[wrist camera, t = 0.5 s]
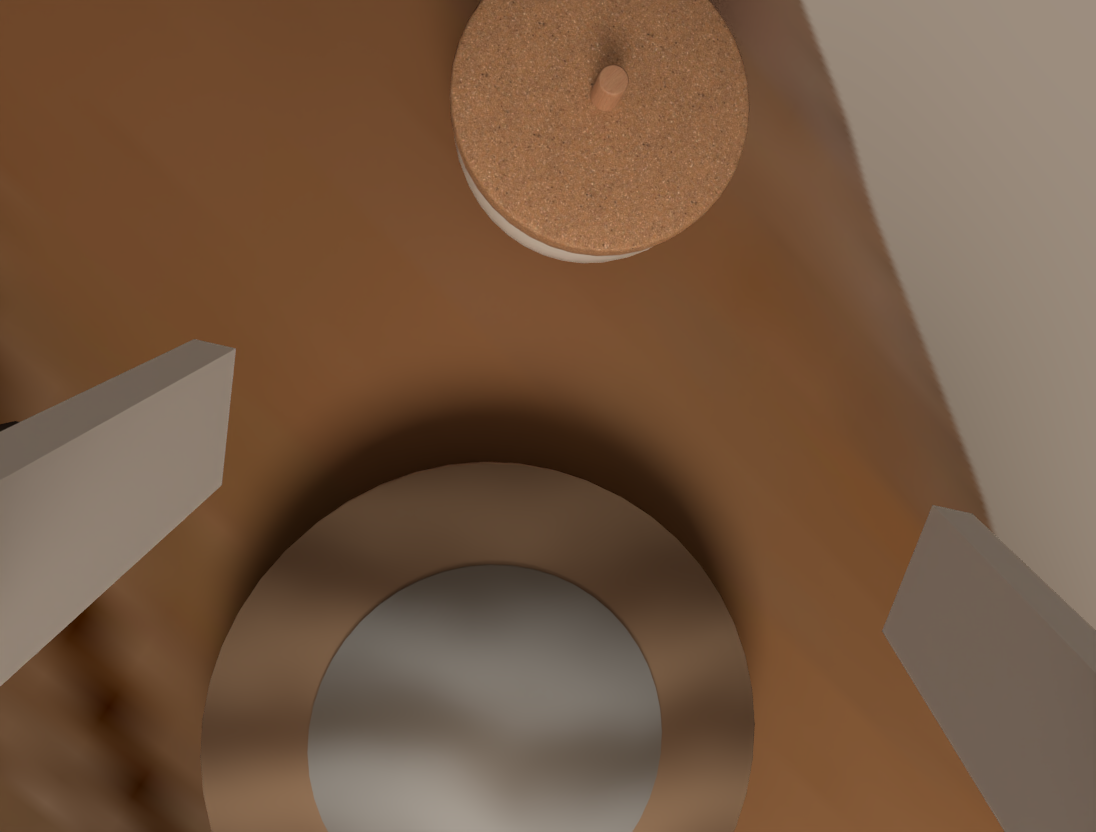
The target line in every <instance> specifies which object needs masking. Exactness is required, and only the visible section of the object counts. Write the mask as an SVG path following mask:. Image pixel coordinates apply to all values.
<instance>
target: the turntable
mask: <svg viewBox="0 0 1096 832" xmlns="http://www.w3.org/2000/svg"><path fill="white" fill-rule="evenodd" d="M754 725H755V723H754V709H753V695H752V687H751V682H750V677H749V672H748V667H747V662H746V657H745V654H744V651H743V648H742V645H741V642H740V639H739V636H738V633H737V630H736V627H735V624H734V622H733V620H732V618H731V616H730V614H729V612H728V610H727V608H726V606H725V604H724V602H723V600H722V598H721V596H720V594H719V592H718V591H717V589H716V588H715V586H714V585H713V583H712V582H711V580H710V579H709V577H708V576H707V574H706V573H705V571H704V570H703V568H702V567H701V565H700V564H699V563H698V562H697V561H696V559H695V558H694V557H693V556H692V555H691V554H690V553H689V552H688V550H687V549H686V548H685V547H684V546H683V545H682V544H681V543H680V541H679V540H678V539H677V538H676V537H674V536H673V535H672V534H671V533H670V532H669V531H668V530H666V529H665V528H664V527H663V526H662V525H661V524H659V523H658V522H657V521H656V520H655V519H654V518H652V517H651V516H650V515H648V514H647V513H645V512H644V511H642V510H641V509H639V508H637V507H636V506H634V505H633V504H631V503H630V502H628V501H627V500H625V499H624V498H622V497H620V496H618V495H616V494H614V493H612V492H610V491H607V490H605V489H603V488H601V487H599V486H597V485H595V484H593V483H591V482H589V481H587V480H584V479H581V478H578V477H575V476H572V475H569V474H566V473H563V472H560V471H556V470H553V469H548V468H543V467H537V466H532V465H526V464H521V463H505V462H472V463H460V464H449V465H445V466H440V467H435V468H431V469H426V470H421V471H417V472H413V473H410V474H408V475H405V476H402V477H399V478H396V479H394V480H391V481H388V482H385V483H382V484H380V485H378V486H376V487H374V488H372V489H370V490H368V491H366V492H364V493H362V494H360V495H358V496H356V497H354V498H352V499H350V500H349V501H347V502H346V503H344V504H343V505H341V506H340V507H338V508H337V509H336V510H334V511H333V512H331V513H330V514H328V515H327V516H325V517H324V518H322V519H321V520H319V521H318V522H317V523H316V524H315V525H314V526H313V527H312V528H310V529H309V530H308V531H307V532H306V533H305V534H304V535H303V536H301V537H300V538H299V539H298V540H297V541H296V542H295V543H293V544H292V545H291V546H290V547H289V548H288V549H287V550H286V551H285V552H284V553H283V554H282V555H281V556H280V557H279V559H278V560H277V561H276V562H275V563H274V564H273V565H272V567H271V568H270V569H269V570H268V571H267V572H266V573H265V575H264V576H263V577H262V578H261V579H260V581H259V582H258V584H257V585H256V587H255V588H254V590H253V591H252V593H251V594H250V596H249V597H248V599H247V600H246V602H245V603H244V605H243V606H242V608H241V609H240V611H239V612H238V614H237V616H236V618H235V620H234V622H233V625H232V627H231V629H230V631H229V633H228V635H227V637H226V639H225V641H224V643H223V645H222V647H221V650H220V653H219V656H218V659H217V662H216V665H215V668H214V671H213V674H212V677H211V680H210V683H209V689H208V694H207V699H206V704H205V709H204V714H203V720H202V737H201V755H200V758H201V771H202V783H203V795H204V799H205V804H206V808H207V813H208V817H209V822H210V826H211V831H212V832H734V830H735V828H736V825H737V822H738V818H739V815H740V812H741V809H742V806H743V802H744V799H745V796H746V793H747V787H748V782H749V776H750V771H751V765H752V760H753V743H754Z"/></svg>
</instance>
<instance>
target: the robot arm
mask: <svg viewBox="0 0 1096 832" xmlns="http://www.w3.org/2000/svg"><path fill="white" fill-rule="evenodd" d="M235 351H236V349H235V348H231V347H227V346H222V345H218V344H213V343H209V342H204V341H200V340H195V339H194V340H192V341H190V342H188V343H185V344H183V345H181V346H179V347H177V348H175V349H173V350H171V351H169V352H167V353H164V354H162V355H160V356H158V357H156V358H154V359H152V360H150V361H148V362H146V363H143V364H141V365H139V366H137V367H135V368H133V369H131V370H129V371H127V372H125V373H122V374H120V375H118V376H116V377H114V378H112V379H110V380H108V381H106V382H104V383H101V384H99V385H97V386H95V387H93V388H91V389H89V390H87V391H85V392H83V393H80V394H78V395H76V396H74V397H72V398H70V399H68V400H66V401H64V402H62V403H59V404H57V405H55V406H53V407H51V408H49V409H47V410H45V411H43V412H41V413H38V414H36V415H34V416H32V417H30V418H28V419H26V420H24V421H22V422H17V421H14V422H9V423H4V424H0V686H1V685H2V684H3V683H4V682H6V681H7V680H8V679H9V678H10V677H11V676H12V675H13V674H14V673H15V672H17V671H18V670H19V669H20V668H21V667H22V666H23V665H24V664H25V663H26V662H28V661H29V660H30V659H31V658H32V657H33V656H34V655H35V654H36V653H38V652H39V651H40V650H41V649H42V648H43V647H44V646H45V645H46V644H47V643H49V642H50V641H51V640H52V639H53V638H54V637H55V636H56V635H57V634H58V633H60V632H61V631H62V630H63V629H64V628H65V627H66V626H67V625H68V624H69V623H71V622H72V621H73V620H74V619H75V618H76V617H77V616H78V615H79V614H80V613H82V612H83V611H84V610H85V609H86V608H87V607H88V606H89V605H90V604H91V603H93V602H94V601H95V600H96V599H97V598H98V597H99V596H100V595H101V594H102V593H104V592H105V591H106V590H107V589H108V588H109V587H110V586H111V585H112V584H113V583H115V582H116V581H117V580H118V579H119V578H120V577H121V576H122V575H123V574H124V573H126V572H127V571H128V570H129V569H130V568H131V567H132V566H133V565H134V564H135V563H137V562H138V561H139V560H140V559H141V558H142V557H143V556H144V555H145V554H146V553H148V552H149V551H150V550H151V549H152V548H153V547H154V546H155V545H156V544H157V543H159V542H160V541H161V540H162V539H163V538H164V537H165V536H166V535H167V534H168V533H170V532H171V531H172V530H173V529H174V528H175V527H176V526H177V525H178V524H179V523H181V522H182V521H183V520H184V519H185V518H186V517H187V516H188V515H189V514H190V513H192V512H193V511H194V510H195V509H196V508H197V507H198V506H199V505H200V504H201V503H203V502H204V501H205V500H206V499H207V498H208V497H209V496H210V495H211V494H212V493H214V492H215V491H216V490H217V489H218V488H219V487H220V486H221V485H222V476H223V467H224V457H225V447H226V438H227V428H228V419H229V409H230V399H231V390H232V380H233V371H234V361H235ZM882 632H883V633H884V635H885V637H886V638H887V640H888V641H889V643H890V645H891V646H892V648H893V650H894V651H895V653H896V655H897V656H898V658H899V659H900V661H901V663H902V664H903V666H904V668H905V669H906V671H907V673H908V674H909V676H910V677H911V679H912V681H913V682H914V684H915V686H916V687H917V689H918V691H919V692H920V694H921V695H922V697H923V699H924V700H925V702H926V704H927V705H928V707H929V709H930V710H931V712H932V713H933V715H934V717H935V718H936V720H937V722H938V723H939V725H940V727H941V728H942V730H943V731H944V733H945V735H946V736H947V738H948V740H949V741H950V743H951V745H952V746H953V748H954V749H955V751H956V753H957V754H958V756H959V758H960V759H961V761H962V763H963V764H964V766H965V767H966V769H967V771H968V772H969V774H970V776H971V777H972V779H973V781H974V782H975V784H976V786H977V787H978V789H979V790H980V792H981V794H982V795H983V797H984V799H985V800H986V802H987V804H988V805H989V807H990V808H991V810H992V812H993V813H994V815H995V817H996V818H997V820H998V822H999V823H1000V825H1001V826H1002V828H1003V830H1004V831H1005V832H1096V630H1095V629H1093V628H1092V627H1091V626H1090V625H1089V624H1088V623H1087V622H1086V621H1085V620H1084V619H1083V618H1082V617H1081V616H1080V615H1079V614H1078V613H1077V612H1076V611H1075V610H1073V609H1072V608H1071V607H1070V606H1069V605H1068V604H1067V603H1066V602H1065V601H1064V600H1063V599H1062V598H1061V597H1060V596H1059V595H1058V594H1056V592H1054V591H1053V590H1052V589H1051V588H1050V587H1049V586H1048V585H1047V584H1046V583H1045V582H1044V581H1043V580H1042V579H1041V578H1040V577H1039V576H1037V575H1036V574H1035V573H1034V572H1033V571H1032V570H1031V569H1030V568H1029V567H1028V566H1027V565H1026V564H1025V563H1024V562H1023V561H1022V560H1020V558H1018V557H1017V556H1016V555H1015V554H1014V553H1013V552H1012V551H1011V550H1010V549H1009V548H1008V547H1007V546H1006V545H1005V544H1004V543H1003V542H1002V541H1000V540H999V539H998V538H997V537H996V536H995V535H994V534H993V533H992V532H991V531H990V530H989V529H988V528H987V527H986V526H985V525H984V524H983V523H982V522H980V521H979V520H978V519H977V518H976V517H975V516H974V515H973V514H970V513H966V512H961V511H957V510H952V509H948V508H944V507H939V506H935V505H932V508H931V510H930V513H929V515H928V518H927V520H926V523H925V525H924V528H923V530H922V533H921V535H920V538H919V540H918V543H917V545H916V548H915V550H914V553H913V555H912V558H911V560H910V563H909V565H908V568H907V570H906V573H905V575H904V578H903V580H902V583H901V585H900V588H899V590H898V593H897V595H896V598H895V600H894V603H893V605H892V608H891V610H890V613H889V615H888V618H887V620H886V623H885V625H884V628H883V630H882Z"/></svg>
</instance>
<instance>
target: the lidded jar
mask: <svg viewBox="0 0 1096 832" xmlns="http://www.w3.org/2000/svg"><path fill="white" fill-rule="evenodd" d="M450 109H451V122H452V126H453V131H454V138H455V143H456V148H457V153H458V157H459V161H460V164H461V167H462V169H463V172H464V174H465V177H466V180H467V182H468V185H469V187H470V189H471V191H472V192H473V194H474V196H475V197H476V199H477V201H478V203H479V204H480V206H481V207H482V208H483V210H484V211H485V212H486V213H487V215H488V216H489V217H490V218H491V220H492V221H493V222H494V223H495V224H496V225H498V226H499V227H500V228H501V229H502V230H503V231H504V232H505V233H506V234H507V235H509V236H510V237H512V238H513V239H515V240H516V241H518V242H519V243H521V244H522V245H523V246H525V247H527V248H529V249H531V250H534V251H536V252H538V253H540V254H542V255H545V256H548V257H552V258H555V259H559V260H562V261H569V262H578V263H600V262H607V261H612V260H617V259H622V258H626V257H630V256H632V255H635V254H638V253H640V252H643V251H646V250H648V249H650V248H651V247H653V246H655V245H658V244H660V243H663V242H665V241H667V240H668V239H670V238H672V237H674V236H675V235H677V234H679V233H680V232H682V231H684V230H685V229H687V228H688V227H689V226H690V225H691V224H693V223H694V222H695V221H696V220H698V219H699V218H700V217H701V216H702V215H704V214H705V213H706V212H707V211H708V209H709V208H710V207H711V206H712V205H713V204H714V203H715V202H716V200H717V199H718V198H719V197H720V196H721V194H722V193H723V191H724V189H725V188H726V186H727V185H728V183H729V182H730V180H731V178H732V177H733V175H734V172H735V170H736V168H737V165H738V163H739V161H740V158H741V156H742V152H743V148H744V144H745V140H746V136H747V131H748V121H749V111H750V109H749V90H748V83H747V78H746V73H745V68H744V63H743V61H742V58H741V55H740V52H739V50H738V47H737V44H736V42H735V40H734V38H733V36H732V34H731V32H730V30H729V29H728V27H727V25H726V23H725V21H724V20H723V18H722V17H721V16H720V14H719V13H718V12H717V10H716V9H715V8H714V6H713V5H712V4H711V2H710V1H709V0H481V2H480V3H479V5H478V6H477V8H476V9H475V11H474V12H473V14H472V15H471V17H470V18H469V20H468V22H467V24H466V26H465V28H464V31H463V33H462V35H461V37H460V40H459V42H458V46H457V49H456V53H455V57H454V61H453V64H452V73H451V83H450Z"/></svg>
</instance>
